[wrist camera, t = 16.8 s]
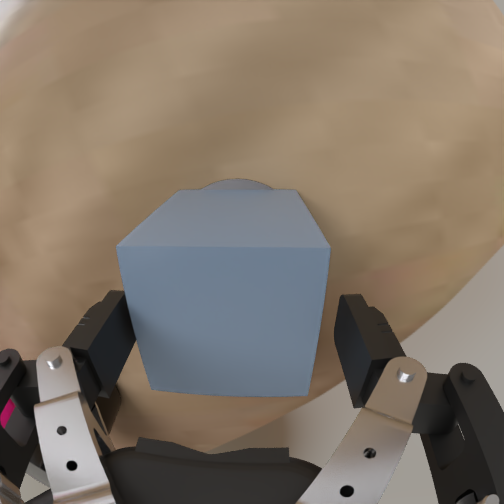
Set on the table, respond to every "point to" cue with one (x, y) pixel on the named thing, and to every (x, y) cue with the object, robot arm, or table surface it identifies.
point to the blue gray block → (227, 292)
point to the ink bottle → (108, 413)
